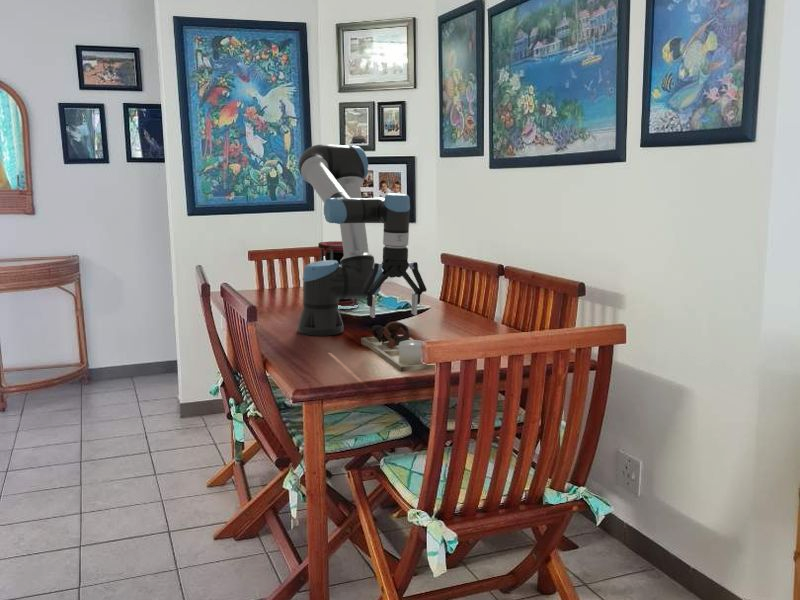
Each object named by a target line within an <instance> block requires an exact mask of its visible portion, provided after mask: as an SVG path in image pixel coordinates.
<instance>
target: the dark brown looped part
mask: <svg viewBox="0 0 800 600" xmlns="http://www.w3.org/2000/svg"><path fill="white" fill-rule="evenodd" d="M400 329H402V330H403V331H404V332H405V334H402V335H403V336H398V335H399V334H396V333H397V330H400ZM370 331H371V334H372V337H375V338H376V339H378V341H379V342H381V340H382V343H384V342H385V341H389V343H388V345H387V347H388V348H390V349H392V348H393V347H394V346H398V345H399V343H400V342H401V341H405V340H408V339H409V338H411V337H410V333H409V332H410V331H409V328H408V326H407V325H405V324H404V323H402V322H398V321H391V322H388V323H387V324H385V326H382V325H378V324H377V325H373V326H372V328H371V330H370Z"/></svg>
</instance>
